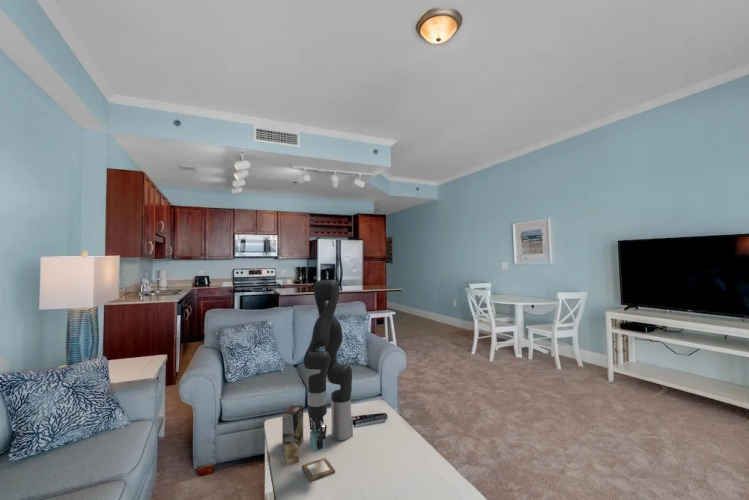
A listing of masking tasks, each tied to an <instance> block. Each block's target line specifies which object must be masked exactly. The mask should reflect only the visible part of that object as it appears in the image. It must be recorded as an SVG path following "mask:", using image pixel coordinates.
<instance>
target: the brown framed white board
mask: <svg viewBox="0 0 749 500" xmlns="http://www.w3.org/2000/svg"><path fill="white" fill-rule="evenodd" d="M301 469H302V470H303V472H304V474H305V476H306V477H307V479H308V481H309V482H310V483H313V482H314V481H317V480H320V479H323V478H325V477H328V476H330V475H333V474H336V470H335V468H334V467H333V465H331V463H330V462H329V461H328V459H327V458H326V457H323V458H320V459H316V460H314V461H311V462H307V463H306V464H303V465H301Z"/></svg>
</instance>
